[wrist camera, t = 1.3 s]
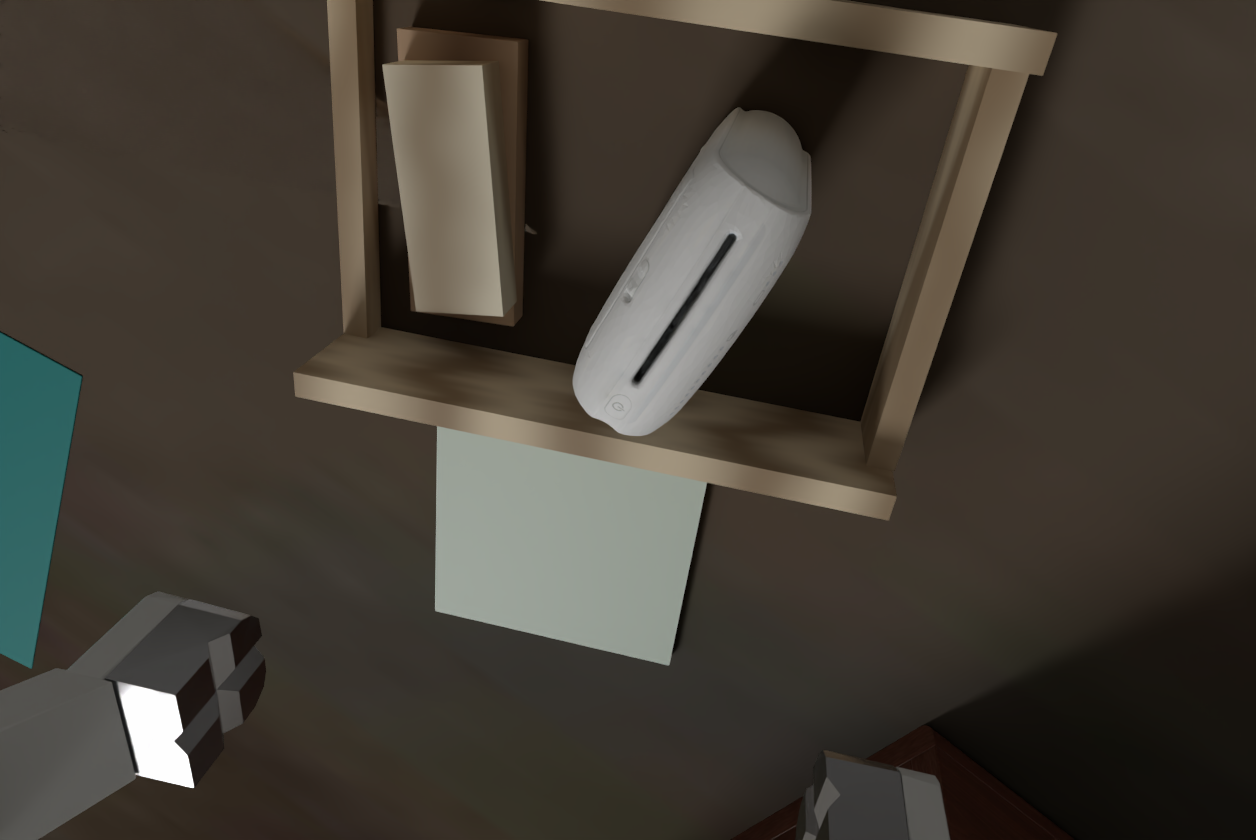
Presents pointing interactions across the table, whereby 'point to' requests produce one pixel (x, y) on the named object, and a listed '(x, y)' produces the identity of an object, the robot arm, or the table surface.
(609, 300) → the photo printer
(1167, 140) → the table surface
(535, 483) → the sage board
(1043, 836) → the storage cube
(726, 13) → the frame
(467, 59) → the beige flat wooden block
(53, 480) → the place mat
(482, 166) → the birch offcut
